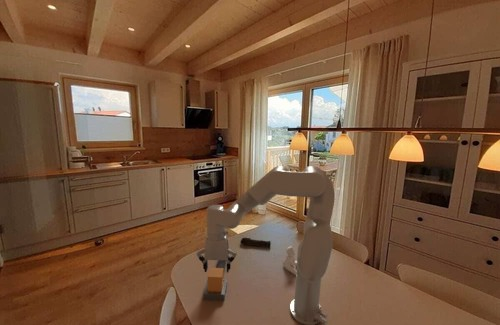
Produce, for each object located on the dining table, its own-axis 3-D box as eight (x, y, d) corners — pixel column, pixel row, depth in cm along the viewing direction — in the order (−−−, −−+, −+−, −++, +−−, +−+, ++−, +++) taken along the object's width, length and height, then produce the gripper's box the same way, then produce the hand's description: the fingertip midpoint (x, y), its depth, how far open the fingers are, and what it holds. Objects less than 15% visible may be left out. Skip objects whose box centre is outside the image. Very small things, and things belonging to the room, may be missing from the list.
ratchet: (224, 300, 91) (224, 288, 90) (203, 299, 91) (203, 287, 90) (231, 258, 119) (231, 249, 118) (215, 258, 120) (215, 248, 118)
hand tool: (270, 245, 134) (271, 239, 133) (270, 249, 130) (270, 242, 129) (241, 242, 137) (241, 235, 137) (240, 245, 134) (240, 238, 133)
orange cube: (223, 281, 98) (223, 268, 96) (221, 291, 92) (221, 277, 91) (210, 281, 98) (210, 267, 97) (207, 291, 92) (207, 276, 91)
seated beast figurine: (297, 276, 107) (298, 254, 105) (280, 271, 110) (281, 250, 108) (300, 265, 116) (301, 245, 114) (284, 260, 119) (286, 241, 117)
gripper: (237, 230, 94) (237, 265, 97) (198, 229, 94) (199, 264, 97) (235, 238, 87) (236, 276, 89) (193, 238, 87) (195, 275, 90)
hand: (217, 270), depth 93 cm, fingers open, 9 cm apart
